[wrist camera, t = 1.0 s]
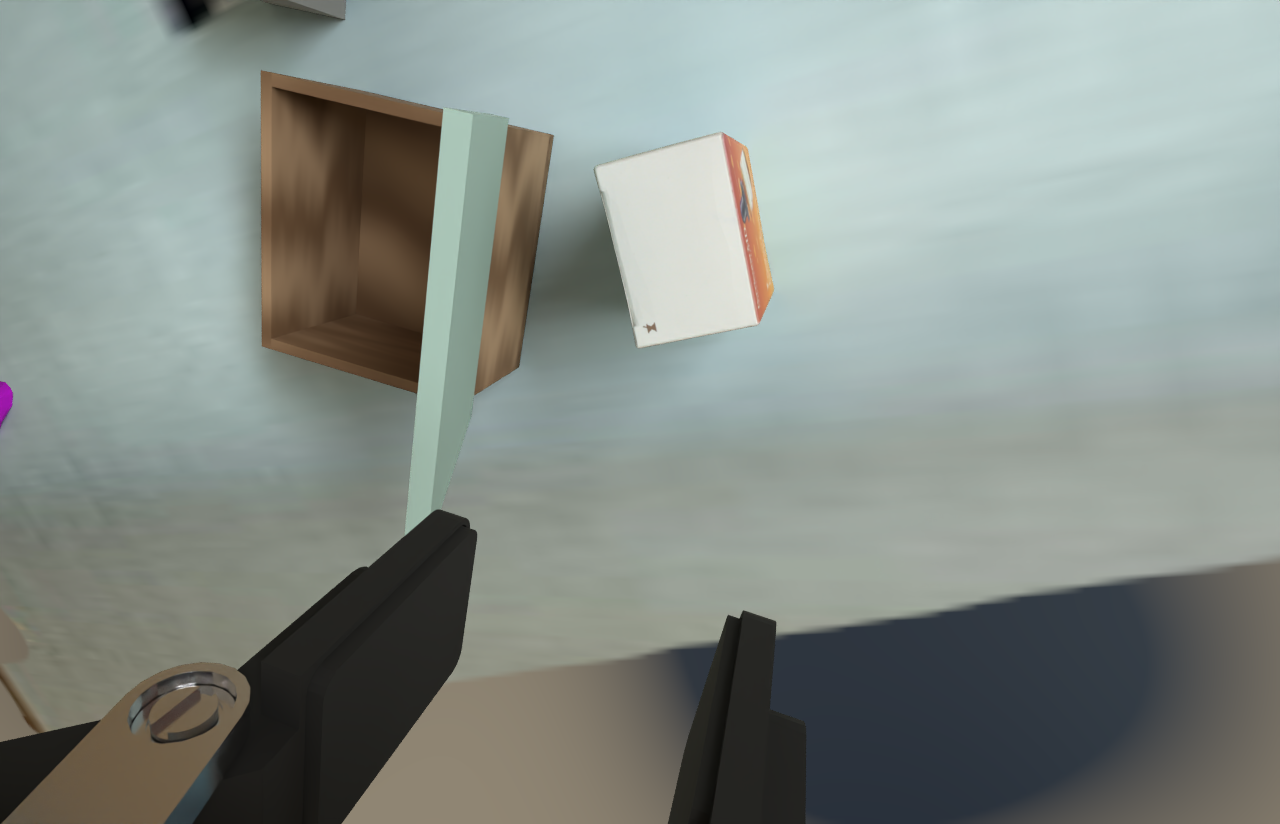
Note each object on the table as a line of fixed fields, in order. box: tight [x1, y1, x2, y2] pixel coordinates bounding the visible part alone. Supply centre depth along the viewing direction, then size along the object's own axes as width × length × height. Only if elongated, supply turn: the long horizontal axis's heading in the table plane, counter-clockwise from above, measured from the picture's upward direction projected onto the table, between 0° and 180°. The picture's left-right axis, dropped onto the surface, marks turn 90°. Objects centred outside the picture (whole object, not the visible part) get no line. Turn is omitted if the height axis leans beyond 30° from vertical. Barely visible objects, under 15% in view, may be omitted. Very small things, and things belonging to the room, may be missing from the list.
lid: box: [405, 108, 509, 535], centre depth 27 cm, size 15×12×1 cm
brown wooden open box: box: [261, 70, 554, 395], centre depth 37 cm, size 14×12×8 cm
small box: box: [594, 132, 774, 348], centre depth 32 cm, size 8×6×10 cm
